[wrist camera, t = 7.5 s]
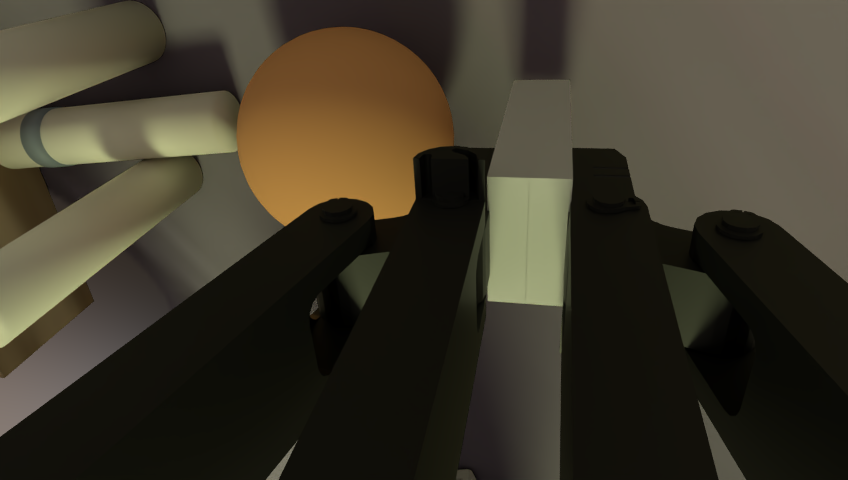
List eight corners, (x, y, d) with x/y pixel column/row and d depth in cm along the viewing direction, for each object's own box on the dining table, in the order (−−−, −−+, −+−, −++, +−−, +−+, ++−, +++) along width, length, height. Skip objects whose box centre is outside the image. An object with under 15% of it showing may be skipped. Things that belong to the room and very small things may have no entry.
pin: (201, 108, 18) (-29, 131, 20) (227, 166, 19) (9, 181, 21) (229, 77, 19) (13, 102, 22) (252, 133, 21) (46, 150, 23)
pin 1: (156, -1, 19) (-122, 68, 11) (172, 62, 20) (-72, 166, 12) (102, 1, 19) (-202, 69, 12) (121, 63, 20) (-147, 163, 13)
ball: (161, 90, 13) (259, -6, 17) (236, 282, 17) (300, 164, 21) (432, 94, 12) (462, -9, 16) (443, 297, 16) (465, 170, 20)
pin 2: (195, 146, 21) (-11, 285, 14) (208, 196, 22) (23, 351, 15) (146, 145, 22) (-80, 279, 14) (161, 194, 23) (-42, 345, 15)
